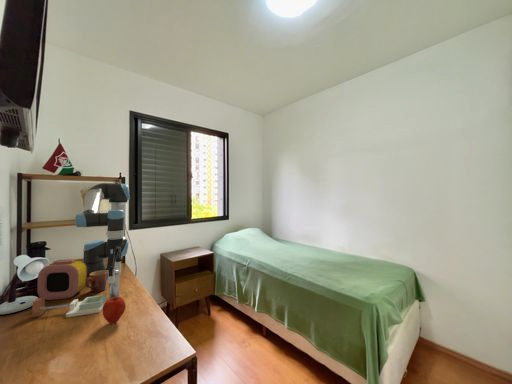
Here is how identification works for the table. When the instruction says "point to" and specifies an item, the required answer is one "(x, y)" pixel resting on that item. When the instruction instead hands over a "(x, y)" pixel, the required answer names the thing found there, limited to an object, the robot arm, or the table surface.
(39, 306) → the pin
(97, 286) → the mug
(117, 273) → the silver metal cylinder
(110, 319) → the apple
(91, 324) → the table surface
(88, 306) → the dock
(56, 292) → the alarm clock
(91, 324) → the table surface
